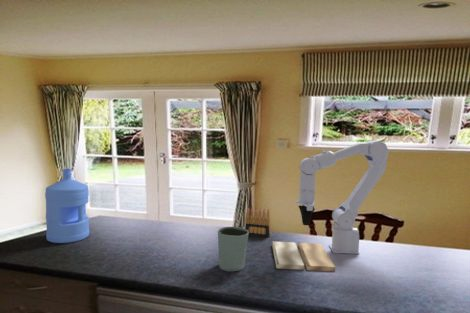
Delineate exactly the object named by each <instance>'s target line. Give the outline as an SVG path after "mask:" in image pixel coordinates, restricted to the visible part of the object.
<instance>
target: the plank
mask: <svg viewBox="0 0 470 313" xmlns="http://www.w3.org/2000/svg"><path fill="white" fill-rule="evenodd" d="M271 248H272V252H273V256H274V257H273V258H274V262H275V268H276V269H280V270H281V269H283V270H300V271H301V270H305V264H304V261H303V259H302V256H301V254H300V251H299V249H298V245H297V243H296V242H292V241H274V240H273V241H271Z"/></svg>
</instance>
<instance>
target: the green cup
mask: <svg viewBox="0 0 470 313" xmlns="http://www.w3.org/2000/svg"><path fill="white" fill-rule="evenodd" d="M248 234H249V232H248V230H246V229H245V228H243V227H239V226H224V227H220V228H219V229H218V230H217V243H218V245H217V246H218V267H219V269H220V270H223V271H225V272H238V271H241V270H243V269H244V268H245V267H246V266H245V264H246V255H247V246H248V241H249V240H248V239H249V235H248Z"/></svg>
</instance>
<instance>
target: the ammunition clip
mask: <svg viewBox="0 0 470 313" xmlns="http://www.w3.org/2000/svg"><path fill="white" fill-rule="evenodd" d="M245 215H246V216H245V228H244V229H246V230H248V232H249V234H248V236H255V237H260V238H261V237H263V238H270V237H271V230H270V229H271V224H270V222H271V220H270V219H271V218H270V216H271V215H270V210H269V208H268V209H267V211H266V209H265V208H263V211H262V209H261V208H259V210H258V209H257V208H255V210H254V208H253V207H251V208H249V207H247V208H246V214H245Z"/></svg>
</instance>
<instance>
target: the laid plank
mask: <svg viewBox="0 0 470 313" xmlns="http://www.w3.org/2000/svg"><path fill="white" fill-rule="evenodd" d="M297 248H298V251H299V253H300V256H301V258H302V261H303V263H304V267H305V268H306V271H320V272H321V271H323V272H327V271H328V272H335V271H336V266H335V264H334V262H333V261H332V259H331V258H330V256H329V254H328V253H327V252H326V250H325V248H324V246H323V245H322V243H315V242H314V243H313V242H312V243H311V242H310V243H309V242H297Z"/></svg>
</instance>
